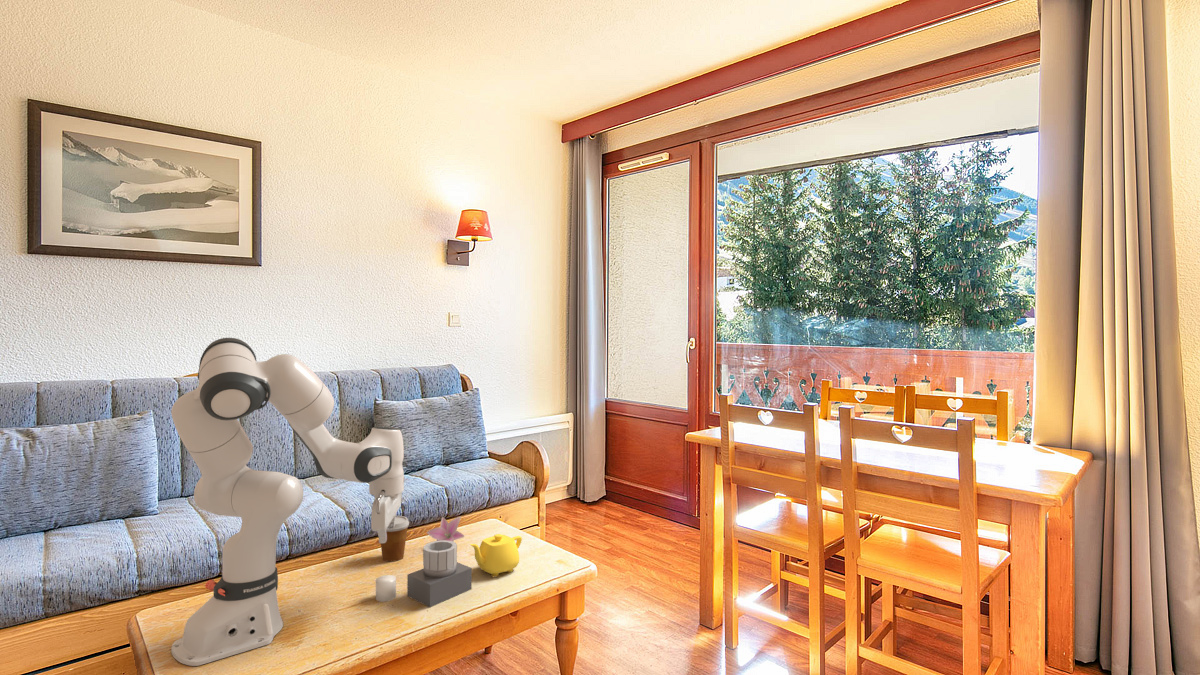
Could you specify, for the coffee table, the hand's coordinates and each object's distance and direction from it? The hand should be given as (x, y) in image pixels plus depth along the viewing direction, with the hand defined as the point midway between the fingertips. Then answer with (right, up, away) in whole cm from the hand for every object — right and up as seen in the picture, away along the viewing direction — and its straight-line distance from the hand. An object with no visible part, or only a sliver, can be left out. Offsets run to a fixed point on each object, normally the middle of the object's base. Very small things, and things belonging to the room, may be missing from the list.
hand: (386, 535), depth 165 cm
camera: (+13, -17, +4) cm, 22 cm away
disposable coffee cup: (-7, -16, +27) cm, 32 cm away
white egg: (0, -17, 0) cm, 17 cm away
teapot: (+26, -17, +19) cm, 37 cm away
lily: (+7, -16, +36) cm, 40 cm away
